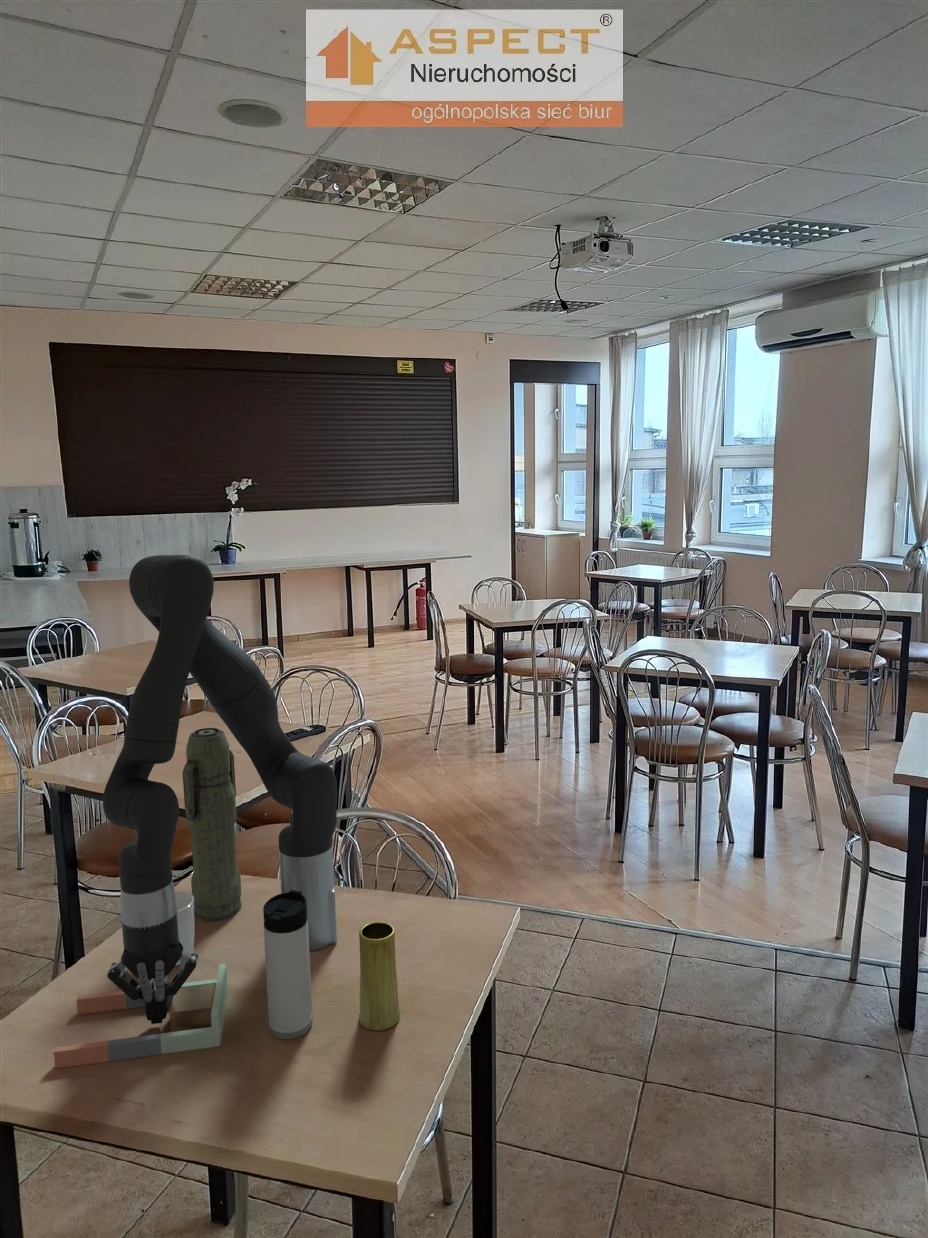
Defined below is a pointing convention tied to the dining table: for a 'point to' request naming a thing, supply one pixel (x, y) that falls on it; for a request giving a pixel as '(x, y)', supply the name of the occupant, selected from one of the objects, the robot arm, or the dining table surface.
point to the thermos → (212, 824)
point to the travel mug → (287, 965)
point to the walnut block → (192, 1008)
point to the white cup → (185, 921)
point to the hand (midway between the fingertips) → (157, 1020)
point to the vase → (378, 977)
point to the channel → (147, 1043)
